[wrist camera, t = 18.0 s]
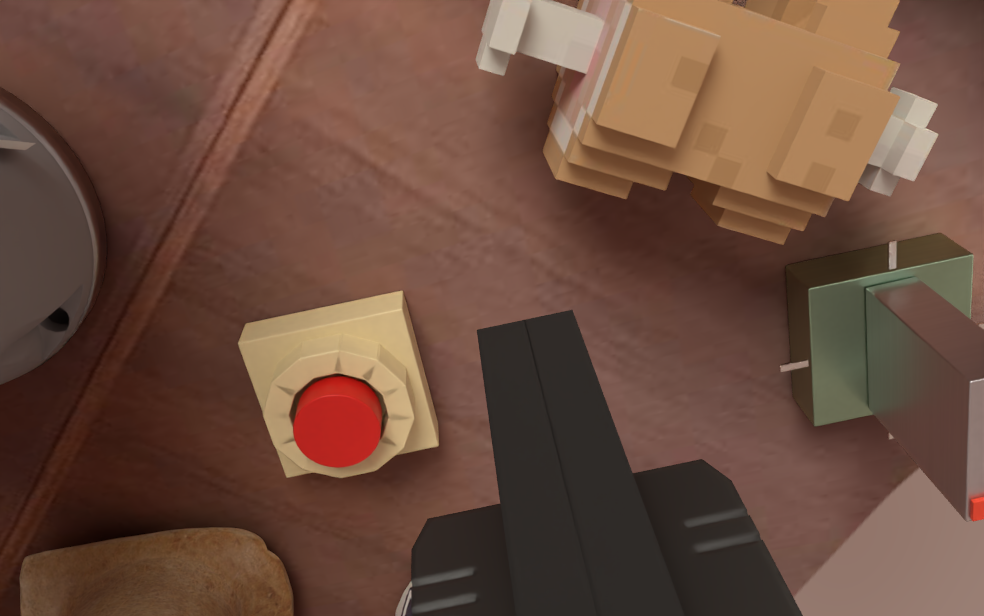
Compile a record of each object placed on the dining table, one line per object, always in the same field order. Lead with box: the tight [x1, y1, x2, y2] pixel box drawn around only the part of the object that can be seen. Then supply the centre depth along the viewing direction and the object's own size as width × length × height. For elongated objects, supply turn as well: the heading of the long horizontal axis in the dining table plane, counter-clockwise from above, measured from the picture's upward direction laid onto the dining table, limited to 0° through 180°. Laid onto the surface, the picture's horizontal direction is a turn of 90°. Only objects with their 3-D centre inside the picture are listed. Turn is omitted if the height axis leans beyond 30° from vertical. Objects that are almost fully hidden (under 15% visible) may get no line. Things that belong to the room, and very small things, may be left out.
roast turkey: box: [476, 0, 939, 245], centre depth 36 cm, size 10×18×10 cm, turn 72°
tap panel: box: [779, 233, 984, 439], centre depth 45 cm, size 11×11×3 cm
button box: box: [238, 291, 439, 478], centre depth 44 cm, size 8×8×4 cm
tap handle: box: [866, 277, 984, 521], centre depth 40 cm, size 7×2×9 cm, turn 12°
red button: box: [293, 376, 382, 468], centre depth 42 cm, size 4×4×2 cm
